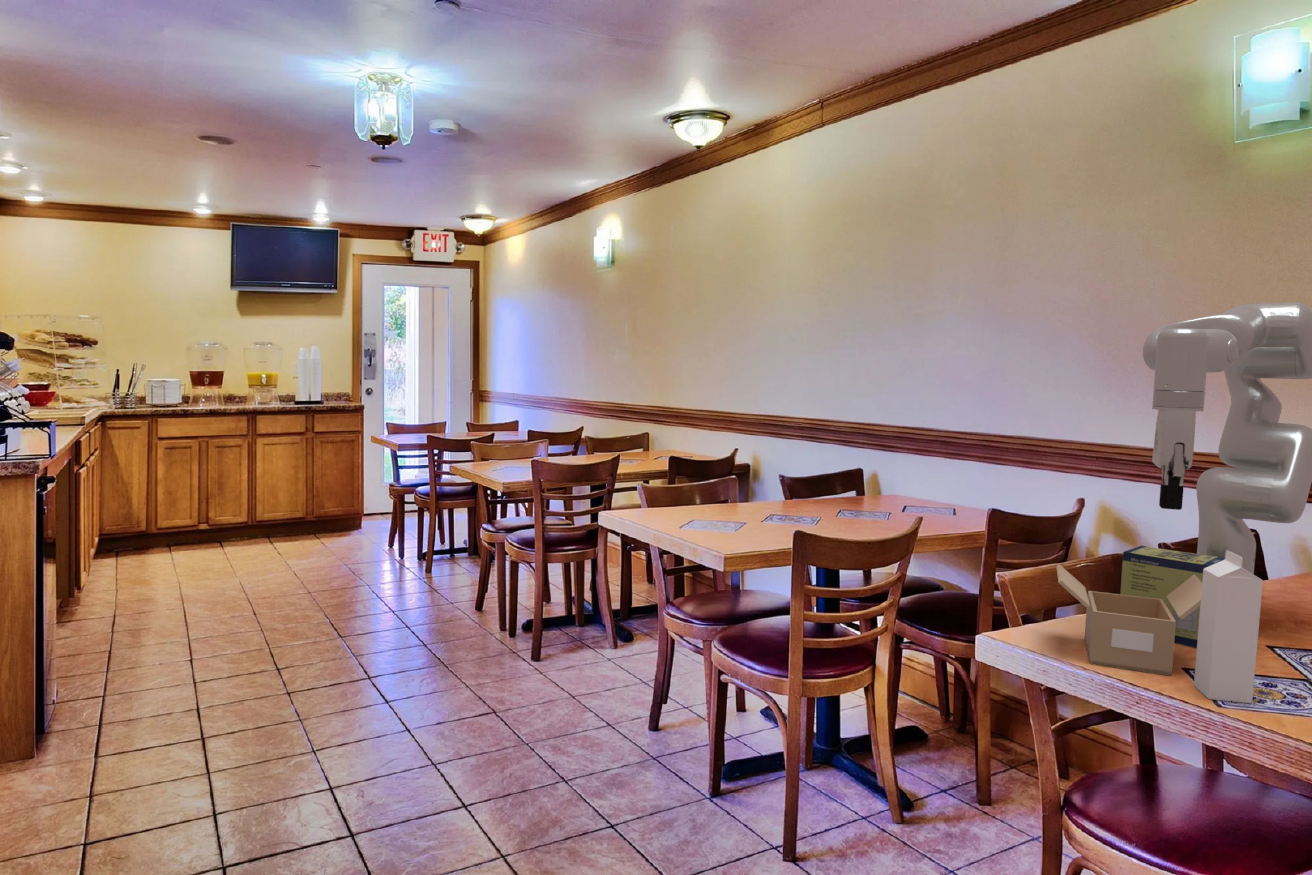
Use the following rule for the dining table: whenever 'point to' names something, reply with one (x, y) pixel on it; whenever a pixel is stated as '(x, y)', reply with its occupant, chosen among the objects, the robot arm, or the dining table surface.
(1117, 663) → the carton
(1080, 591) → the flap
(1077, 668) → the dining table surface
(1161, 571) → the protein box
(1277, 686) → the dining table surface
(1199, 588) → the flap
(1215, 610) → the milk
